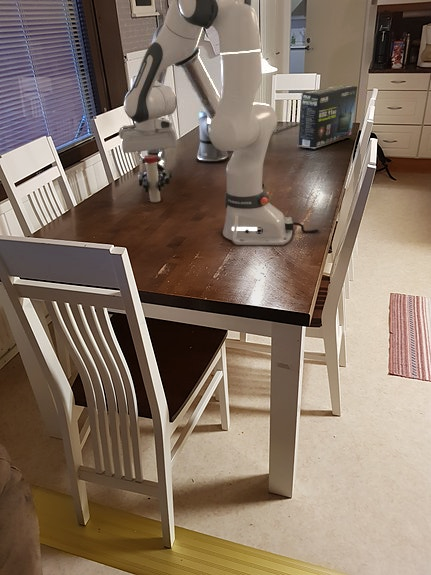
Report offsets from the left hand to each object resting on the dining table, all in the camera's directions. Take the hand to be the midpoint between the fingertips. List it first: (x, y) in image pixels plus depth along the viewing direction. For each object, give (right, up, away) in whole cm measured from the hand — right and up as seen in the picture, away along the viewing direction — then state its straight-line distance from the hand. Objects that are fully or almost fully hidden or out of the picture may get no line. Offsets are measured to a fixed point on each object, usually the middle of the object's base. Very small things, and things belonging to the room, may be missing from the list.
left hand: (152, 188), depth 171 cm
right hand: (-1, +10, 0) cm, 10 cm away
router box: (+82, +40, +74) cm, 117 cm away
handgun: (+38, +9, +25) cm, 46 cm away
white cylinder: (0, -3, +8) cm, 9 cm away
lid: (-1, +11, -1) cm, 11 cm away
